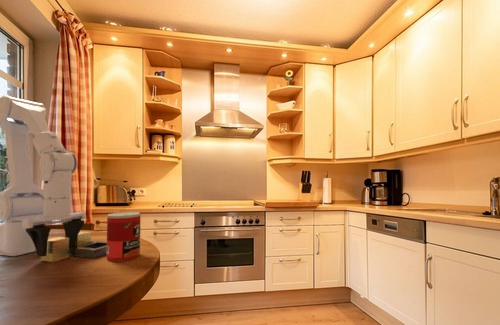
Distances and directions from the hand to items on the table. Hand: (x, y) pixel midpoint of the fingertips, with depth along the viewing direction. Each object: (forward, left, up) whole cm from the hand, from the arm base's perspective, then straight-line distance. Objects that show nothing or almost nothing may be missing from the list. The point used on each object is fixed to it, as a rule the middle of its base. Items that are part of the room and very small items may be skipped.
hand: (56, 252), depth 66 cm
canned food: (+16, +6, -2) cm, 17 cm away
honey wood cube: (0, 0, -2) cm, 2 cm away
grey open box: (+2, +7, -2) cm, 7 cm away
